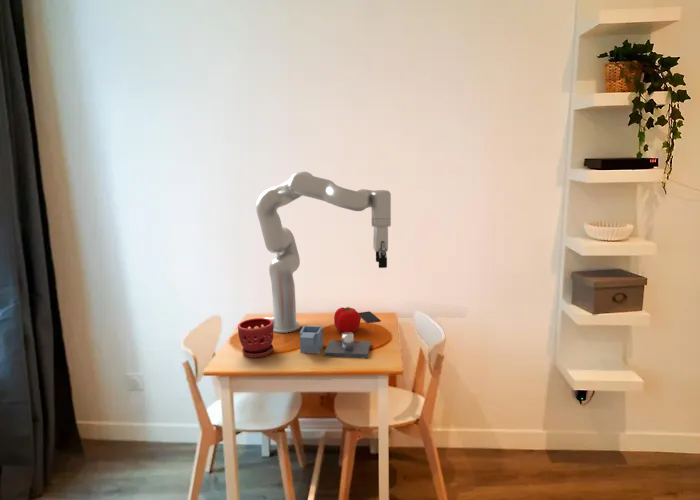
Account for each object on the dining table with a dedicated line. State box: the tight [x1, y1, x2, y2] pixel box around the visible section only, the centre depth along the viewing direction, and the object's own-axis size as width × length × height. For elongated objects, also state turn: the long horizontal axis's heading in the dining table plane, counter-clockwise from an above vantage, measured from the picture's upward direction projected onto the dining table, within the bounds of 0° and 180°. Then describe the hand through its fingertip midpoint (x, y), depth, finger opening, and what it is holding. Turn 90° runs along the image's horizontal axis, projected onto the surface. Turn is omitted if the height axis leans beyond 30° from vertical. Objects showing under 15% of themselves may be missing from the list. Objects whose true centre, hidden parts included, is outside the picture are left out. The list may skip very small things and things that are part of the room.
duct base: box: [323, 332, 372, 359], centre depth 193 cm, size 16×12×6 cm
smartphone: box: [358, 310, 382, 324], centre depth 229 cm, size 7×1×14 cm
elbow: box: [299, 325, 324, 354], centre depth 193 cm, size 7×12×8 cm, turn 172°
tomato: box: [333, 306, 361, 334], centre depth 212 cm, size 11×13×10 cm
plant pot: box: [237, 317, 274, 358], centre depth 192 cm, size 13×13×12 cm
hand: (381, 264), depth 203 cm, fingers open, 9 cm apart
